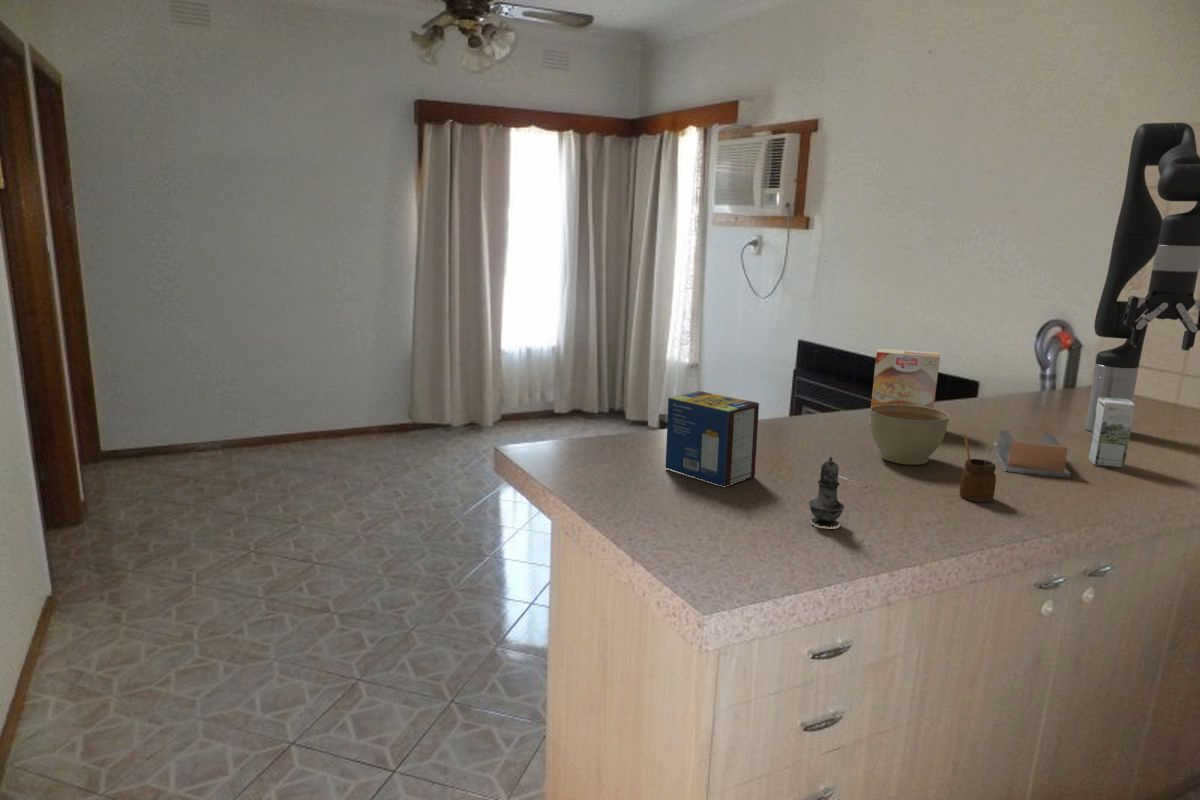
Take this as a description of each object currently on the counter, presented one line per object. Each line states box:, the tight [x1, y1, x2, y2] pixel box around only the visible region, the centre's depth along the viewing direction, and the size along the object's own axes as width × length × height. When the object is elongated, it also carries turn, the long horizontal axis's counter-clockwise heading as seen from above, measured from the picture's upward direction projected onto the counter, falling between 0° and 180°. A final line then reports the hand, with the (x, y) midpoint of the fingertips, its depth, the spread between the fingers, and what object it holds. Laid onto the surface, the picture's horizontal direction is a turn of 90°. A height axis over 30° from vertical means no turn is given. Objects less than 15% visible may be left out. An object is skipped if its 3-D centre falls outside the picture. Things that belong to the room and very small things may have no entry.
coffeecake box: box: [868, 347, 941, 424], centre depth 200 cm, size 15×7×20 cm, turn 68°
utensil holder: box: [959, 433, 1000, 503], centre depth 147 cm, size 6×6×12 cm
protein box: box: [665, 390, 760, 486], centre depth 158 cm, size 10×15×16 cm
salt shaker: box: [808, 456, 845, 527], centre depth 132 cm, size 6×6×12 cm
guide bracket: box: [993, 429, 1071, 479], centre depth 171 cm, size 18×12×6 cm, turn 161°
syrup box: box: [1087, 397, 1136, 469], centre depth 170 cm, size 6×6×14 cm
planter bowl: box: [869, 404, 950, 466], centre depth 171 cm, size 16×16×11 cm
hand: (1160, 348), depth 160 cm, fingers open, 8 cm apart
